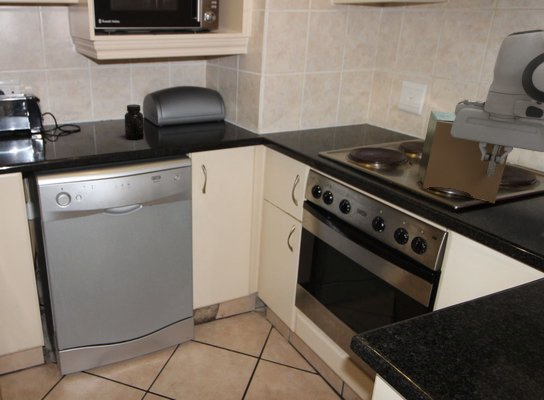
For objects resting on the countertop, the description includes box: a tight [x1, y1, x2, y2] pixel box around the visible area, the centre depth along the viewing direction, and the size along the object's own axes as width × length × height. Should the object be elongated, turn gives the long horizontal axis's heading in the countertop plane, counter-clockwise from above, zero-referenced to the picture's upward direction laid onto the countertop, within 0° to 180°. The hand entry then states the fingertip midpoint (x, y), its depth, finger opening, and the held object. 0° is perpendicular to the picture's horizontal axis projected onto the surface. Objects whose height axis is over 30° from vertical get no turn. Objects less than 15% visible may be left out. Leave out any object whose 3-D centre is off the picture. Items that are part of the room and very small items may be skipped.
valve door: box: [422, 121, 509, 204], centre depth 121 cm, size 6×17×19 cm, turn 53°
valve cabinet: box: [417, 110, 456, 187], centre depth 131 cm, size 12×17×19 cm
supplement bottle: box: [123, 104, 145, 141], centre depth 174 cm, size 7×7×12 cm
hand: (491, 162), depth 115 cm, fingers closed on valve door, 2 cm apart
